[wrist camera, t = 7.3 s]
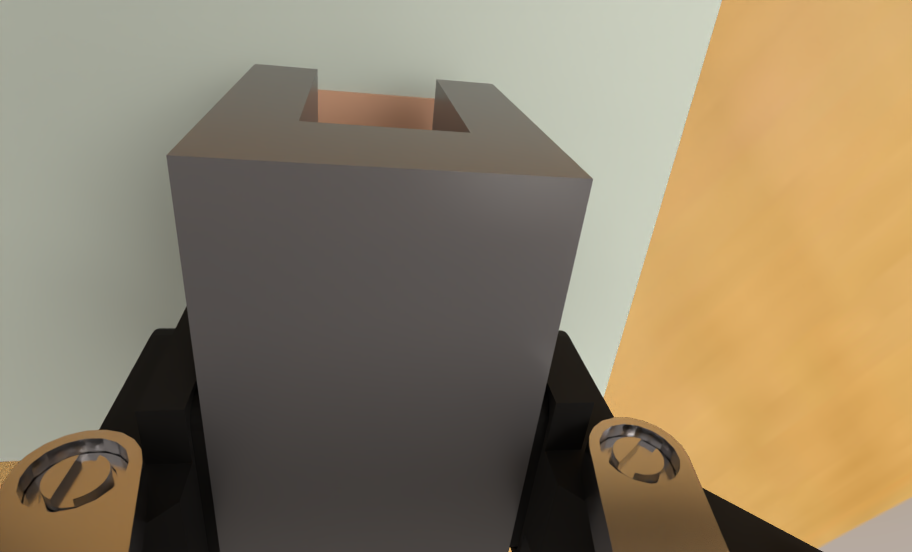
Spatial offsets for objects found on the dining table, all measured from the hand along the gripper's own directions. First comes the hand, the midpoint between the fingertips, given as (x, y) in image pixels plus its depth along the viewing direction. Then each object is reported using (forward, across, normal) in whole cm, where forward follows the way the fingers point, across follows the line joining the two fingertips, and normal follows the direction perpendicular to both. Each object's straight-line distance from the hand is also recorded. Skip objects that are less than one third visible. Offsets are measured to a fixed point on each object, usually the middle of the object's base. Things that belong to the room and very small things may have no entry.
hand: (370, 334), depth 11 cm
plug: (+1, 0, 0) cm, 1 cm away
